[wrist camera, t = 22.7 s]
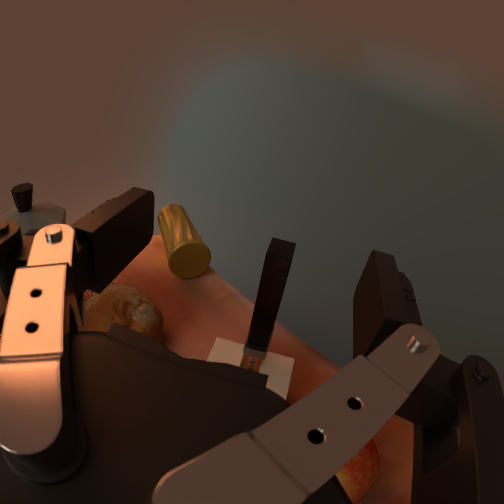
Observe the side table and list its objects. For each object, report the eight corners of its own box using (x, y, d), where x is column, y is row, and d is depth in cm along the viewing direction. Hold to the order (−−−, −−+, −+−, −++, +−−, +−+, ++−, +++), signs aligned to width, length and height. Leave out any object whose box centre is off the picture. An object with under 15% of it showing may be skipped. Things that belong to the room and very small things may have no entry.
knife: (250, 405, 30) (292, 264, 21) (231, 400, 31) (262, 256, 22) (258, 379, 34) (298, 239, 24) (240, 374, 34) (272, 233, 25)
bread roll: (170, 349, 39) (181, 291, 38) (136, 385, 29) (145, 313, 28) (105, 325, 40) (112, 269, 39) (60, 350, 30) (63, 282, 29)
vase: (161, 272, 44) (149, 226, 55) (198, 283, 47) (178, 237, 58) (181, 236, 42) (164, 196, 53) (219, 250, 46) (195, 208, 57)
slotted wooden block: (267, 450, 26) (280, 427, 23) (187, 427, 27) (188, 400, 24) (282, 388, 33) (294, 358, 30) (213, 368, 34) (217, 336, 31)
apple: (325, 429, 29) (355, 387, 25) (372, 488, 23) (416, 457, 19) (257, 462, 25) (276, 426, 21) (305, 532, 19) (341, 515, 15)
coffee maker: (13, 306, 34) (-20, 178, 25) (67, 286, 40) (50, 160, 30) (45, 390, 26) (-16, 239, 17) (113, 359, 32) (89, 207, 22)
